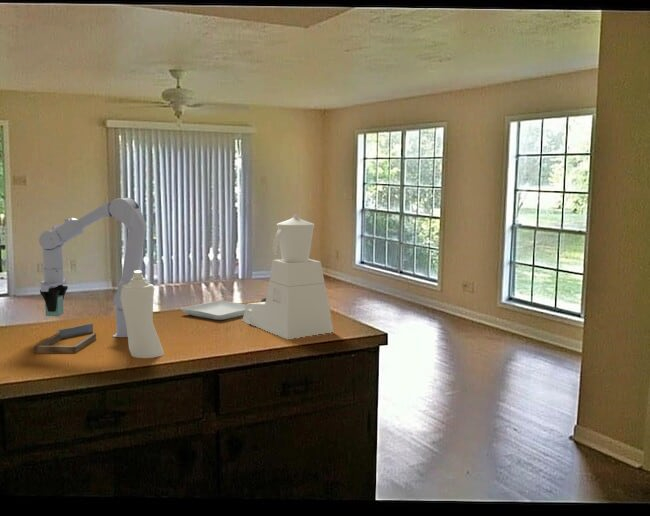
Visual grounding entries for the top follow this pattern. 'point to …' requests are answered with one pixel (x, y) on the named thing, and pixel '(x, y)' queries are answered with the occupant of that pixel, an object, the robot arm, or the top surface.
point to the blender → (293, 287)
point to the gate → (76, 330)
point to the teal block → (58, 307)
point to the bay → (47, 348)
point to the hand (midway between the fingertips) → (55, 309)
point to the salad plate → (216, 310)
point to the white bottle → (140, 317)
